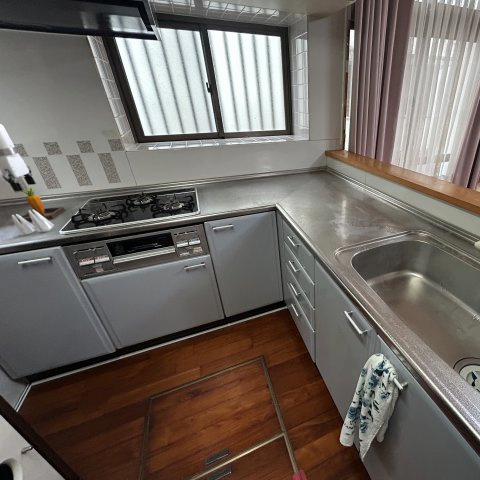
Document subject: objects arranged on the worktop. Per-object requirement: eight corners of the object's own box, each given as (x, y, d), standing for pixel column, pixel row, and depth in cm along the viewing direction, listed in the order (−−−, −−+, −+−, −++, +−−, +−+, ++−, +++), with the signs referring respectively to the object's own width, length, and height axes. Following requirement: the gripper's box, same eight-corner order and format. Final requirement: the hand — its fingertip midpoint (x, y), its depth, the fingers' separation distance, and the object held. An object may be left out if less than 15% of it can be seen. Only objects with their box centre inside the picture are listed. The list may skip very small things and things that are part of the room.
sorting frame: (18, 222, 133) (16, 219, 132) (34, 212, 144) (32, 209, 143) (52, 219, 136) (50, 215, 135) (65, 209, 147) (63, 206, 146)
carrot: (34, 218, 137) (17, 190, 130) (40, 214, 141) (24, 187, 134) (46, 217, 138) (30, 189, 131) (51, 213, 143) (36, 186, 135)
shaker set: (56, 228, 128) (44, 206, 122) (51, 232, 124) (39, 210, 119) (25, 232, 125) (11, 210, 119) (19, 236, 121) (5, 214, 116)
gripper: (9, 148, 130) (28, 182, 138) (-20, 156, 115) (3, 194, 124) (27, 148, 131) (45, 181, 140) (1, 155, 117) (23, 192, 126)
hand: (25, 187), depth 132 cm, fingers open, 9 cm apart
